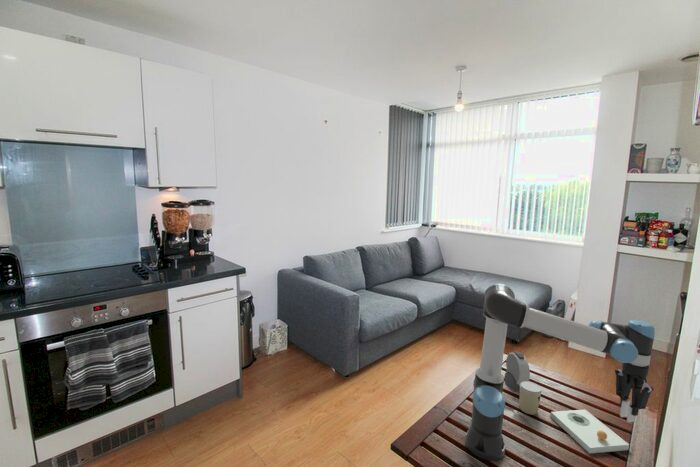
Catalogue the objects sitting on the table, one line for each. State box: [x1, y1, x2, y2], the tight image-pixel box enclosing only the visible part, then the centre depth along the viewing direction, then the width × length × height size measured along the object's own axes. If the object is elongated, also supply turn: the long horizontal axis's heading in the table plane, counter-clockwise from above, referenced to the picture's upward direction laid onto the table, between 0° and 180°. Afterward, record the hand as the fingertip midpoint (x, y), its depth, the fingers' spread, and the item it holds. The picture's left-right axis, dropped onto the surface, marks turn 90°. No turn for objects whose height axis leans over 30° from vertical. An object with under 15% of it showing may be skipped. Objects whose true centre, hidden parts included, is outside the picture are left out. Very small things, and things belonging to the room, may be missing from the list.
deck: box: [550, 409, 630, 454], centre depth 147 cm, size 22×18×2 cm
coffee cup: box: [518, 380, 543, 415], centre depth 161 cm, size 9×9×12 cm
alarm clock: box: [503, 350, 531, 392], centre depth 181 cm, size 16×10×18 cm, turn 179°
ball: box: [597, 430, 607, 440], centre depth 140 cm, size 4×4×4 cm
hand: (627, 418), depth 129 cm, fingers open, 2 cm apart
